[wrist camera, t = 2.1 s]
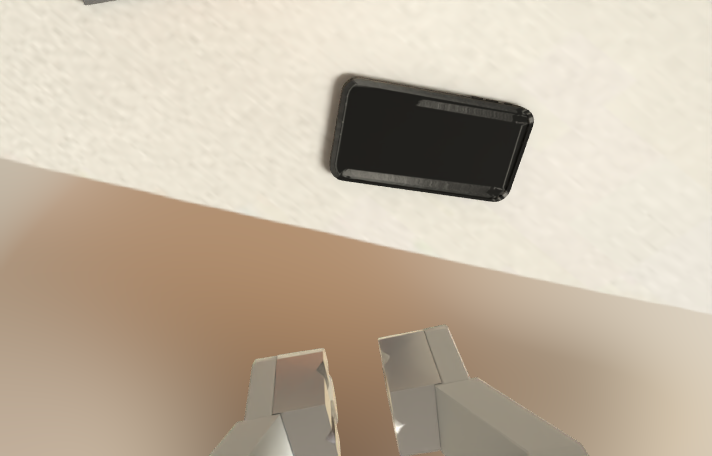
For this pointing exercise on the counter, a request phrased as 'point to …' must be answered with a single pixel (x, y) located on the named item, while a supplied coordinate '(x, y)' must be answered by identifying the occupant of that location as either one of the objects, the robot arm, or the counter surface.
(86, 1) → the mat
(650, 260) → the counter surface
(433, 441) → the robot arm
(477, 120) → the phone
